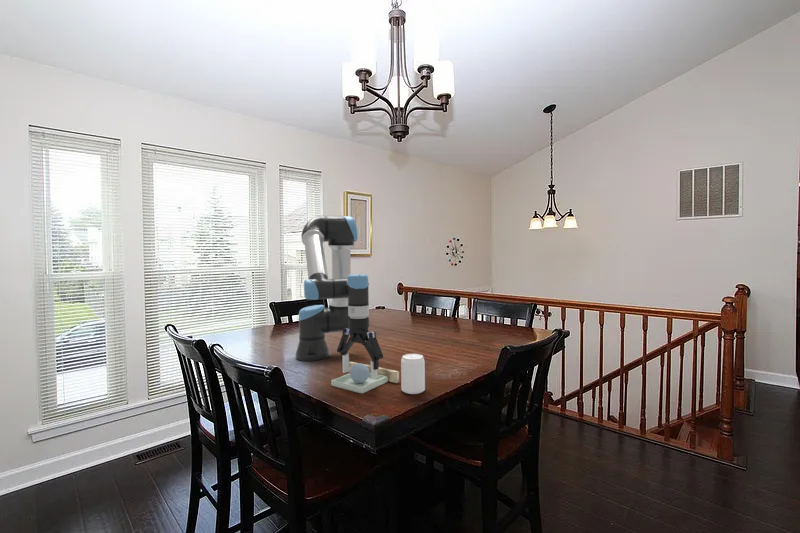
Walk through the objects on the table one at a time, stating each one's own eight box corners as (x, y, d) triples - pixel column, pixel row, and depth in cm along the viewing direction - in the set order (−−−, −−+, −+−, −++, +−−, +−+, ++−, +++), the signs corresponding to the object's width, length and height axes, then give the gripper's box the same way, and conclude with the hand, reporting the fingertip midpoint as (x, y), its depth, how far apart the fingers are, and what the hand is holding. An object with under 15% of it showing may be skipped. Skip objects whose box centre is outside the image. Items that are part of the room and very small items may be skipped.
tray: (331, 385, 139) (331, 380, 139) (358, 375, 151) (358, 369, 151) (361, 393, 131) (361, 388, 131) (387, 381, 143) (387, 376, 142)
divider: (348, 372, 155) (348, 362, 155) (350, 371, 156) (350, 361, 156) (396, 383, 141) (396, 372, 141) (399, 382, 142) (399, 371, 142)
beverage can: (400, 387, 137) (399, 353, 136) (423, 386, 137) (422, 352, 137) (402, 395, 128) (402, 360, 128) (426, 394, 129) (426, 359, 129)
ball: (346, 383, 140) (345, 364, 140) (358, 378, 146) (358, 359, 145) (360, 387, 136) (360, 367, 136) (373, 381, 142) (372, 362, 141)
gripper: (326, 315, 144) (327, 371, 145) (379, 321, 130) (380, 384, 130) (340, 312, 150) (341, 366, 151) (392, 318, 136) (393, 378, 137)
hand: (359, 375), depth 141 cm, fingers open, 13 cm apart
